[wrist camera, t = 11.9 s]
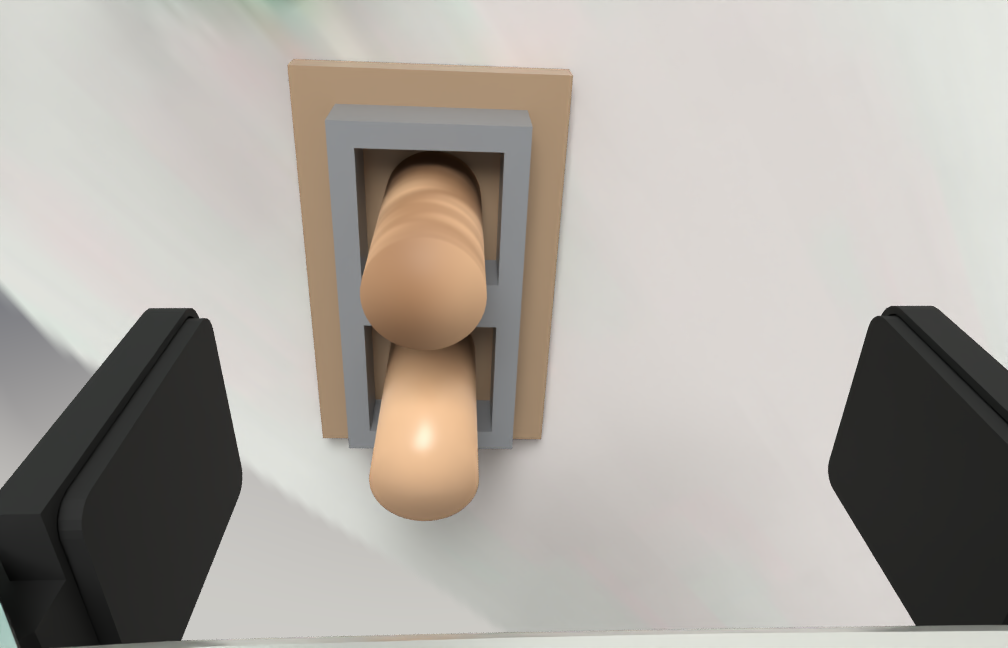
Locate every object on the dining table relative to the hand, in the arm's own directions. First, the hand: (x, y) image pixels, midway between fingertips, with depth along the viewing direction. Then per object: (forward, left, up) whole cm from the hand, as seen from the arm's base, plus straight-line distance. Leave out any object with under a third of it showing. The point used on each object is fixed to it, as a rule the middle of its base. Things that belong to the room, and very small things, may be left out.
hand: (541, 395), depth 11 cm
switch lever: (+2, +5, -21) cm, 22 cm away
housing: (+2, +9, -22) cm, 24 cm away
